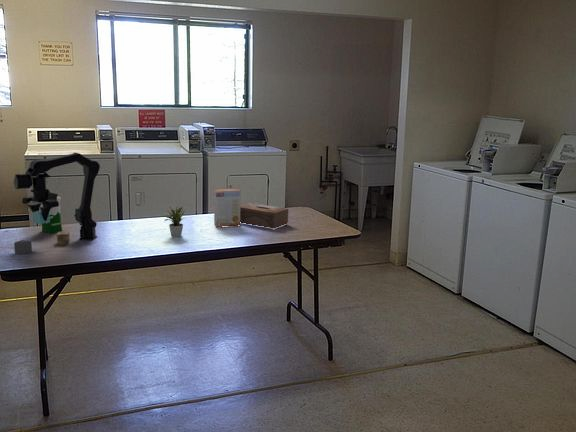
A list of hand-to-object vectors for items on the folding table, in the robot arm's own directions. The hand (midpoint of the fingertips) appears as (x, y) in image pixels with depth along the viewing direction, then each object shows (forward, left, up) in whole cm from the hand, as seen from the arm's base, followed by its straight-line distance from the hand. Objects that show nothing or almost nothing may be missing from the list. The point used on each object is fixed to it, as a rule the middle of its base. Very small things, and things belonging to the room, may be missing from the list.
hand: (41, 219), depth 258 cm
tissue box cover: (-97, -65, -13) cm, 118 cm away
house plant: (-56, -30, -13) cm, 65 cm away
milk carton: (+9, -26, -13) cm, 30 cm away
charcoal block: (+3, +12, -13) cm, 18 cm away
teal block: (0, 0, -1) cm, 1 cm away
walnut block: (-7, -6, -13) cm, 16 cm away
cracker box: (-78, -56, -13) cm, 97 cm away
